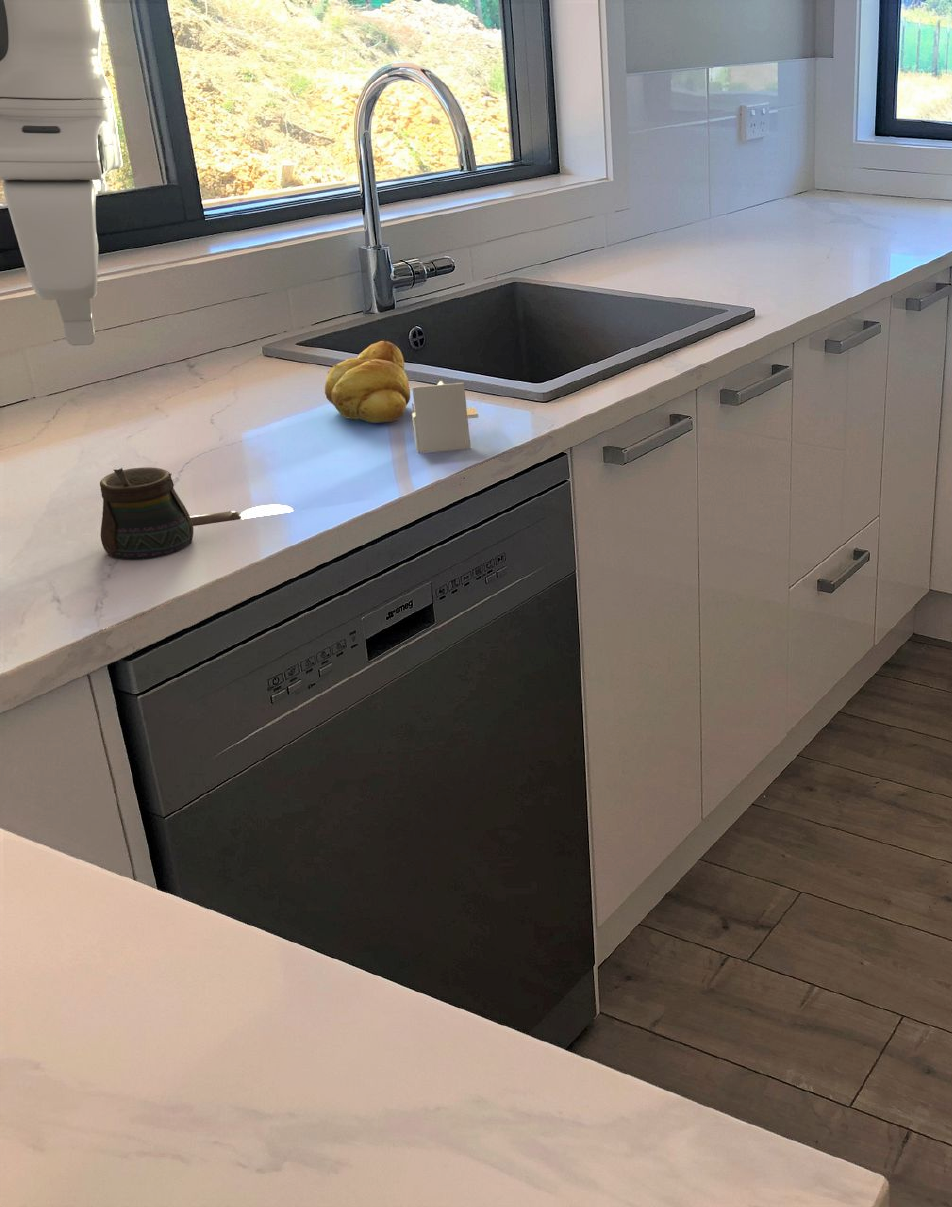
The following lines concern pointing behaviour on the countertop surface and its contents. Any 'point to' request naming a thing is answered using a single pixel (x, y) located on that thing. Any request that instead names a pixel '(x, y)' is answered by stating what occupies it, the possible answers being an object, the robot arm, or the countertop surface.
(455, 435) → the architectural model
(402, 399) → the bread roll
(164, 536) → the mate gourd
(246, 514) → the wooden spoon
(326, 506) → the countertop surface
